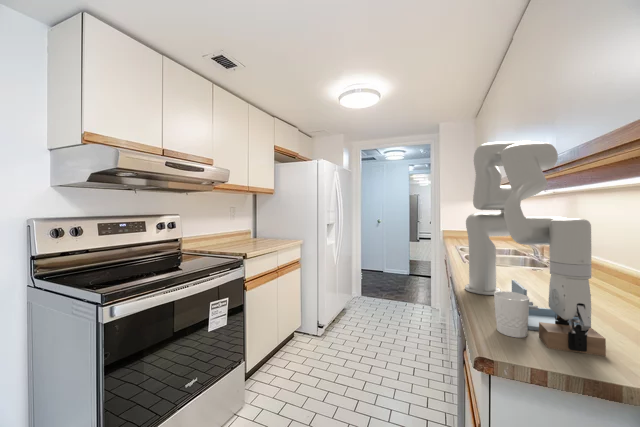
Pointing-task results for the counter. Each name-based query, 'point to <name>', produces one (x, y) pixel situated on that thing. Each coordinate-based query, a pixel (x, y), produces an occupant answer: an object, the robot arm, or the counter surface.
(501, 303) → the white cup
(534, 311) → the shelf unit
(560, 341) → the brown box
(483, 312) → the counter surface
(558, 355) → the counter surface
